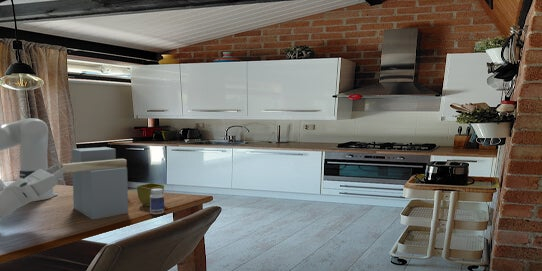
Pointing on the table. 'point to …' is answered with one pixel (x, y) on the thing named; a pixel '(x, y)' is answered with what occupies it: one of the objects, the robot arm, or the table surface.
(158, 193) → the pill bottle
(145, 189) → the flower pot
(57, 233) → the table surface
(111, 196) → the stepped shelf
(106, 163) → the wooden rod
